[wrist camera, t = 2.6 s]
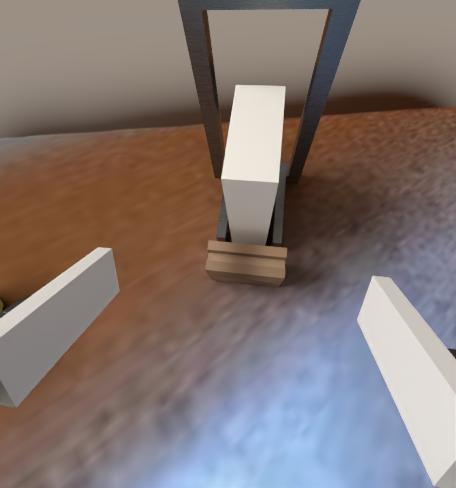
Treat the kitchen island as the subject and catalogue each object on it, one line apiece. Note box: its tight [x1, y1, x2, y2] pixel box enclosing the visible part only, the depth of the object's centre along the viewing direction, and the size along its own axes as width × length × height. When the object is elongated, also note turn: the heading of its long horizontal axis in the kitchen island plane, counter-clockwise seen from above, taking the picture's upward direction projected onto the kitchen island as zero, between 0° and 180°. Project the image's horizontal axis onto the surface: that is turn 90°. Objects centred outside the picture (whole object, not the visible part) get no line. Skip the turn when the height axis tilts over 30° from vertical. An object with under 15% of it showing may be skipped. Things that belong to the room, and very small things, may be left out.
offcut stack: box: [205, 240, 287, 287], centre depth 28 cm, size 8×3×6 cm, turn 83°
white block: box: [221, 85, 285, 246], centre depth 26 cm, size 4×9×15 cm, turn 173°
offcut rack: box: [178, 0, 361, 247], centre depth 23 cm, size 12×12×21 cm
